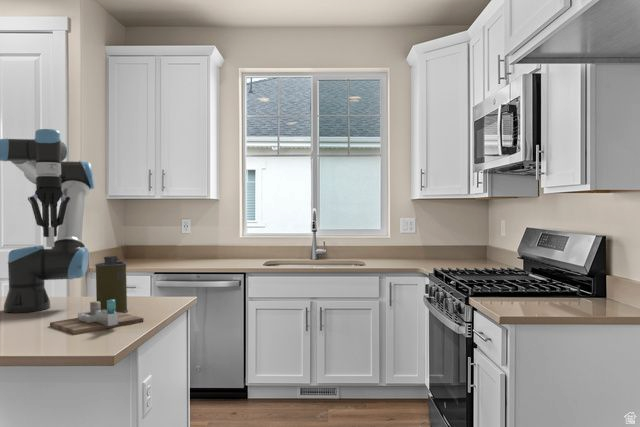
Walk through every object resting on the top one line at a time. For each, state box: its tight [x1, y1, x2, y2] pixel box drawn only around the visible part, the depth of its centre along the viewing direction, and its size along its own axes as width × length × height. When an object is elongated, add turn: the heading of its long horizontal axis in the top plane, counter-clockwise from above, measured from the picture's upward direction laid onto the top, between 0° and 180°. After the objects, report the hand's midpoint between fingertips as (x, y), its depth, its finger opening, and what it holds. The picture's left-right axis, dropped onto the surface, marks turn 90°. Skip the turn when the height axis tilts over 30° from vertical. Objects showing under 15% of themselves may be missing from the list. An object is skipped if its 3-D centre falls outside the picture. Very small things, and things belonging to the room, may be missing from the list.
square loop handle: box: [77, 299, 118, 326], centre depth 166 cm, size 17×8×8 cm, turn 45°
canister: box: [95, 255, 129, 314], centre depth 189 cm, size 11×10×20 cm
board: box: [49, 300, 145, 335], centre depth 169 cm, size 18×22×7 cm
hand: (50, 246), depth 177 cm, fingers closed
